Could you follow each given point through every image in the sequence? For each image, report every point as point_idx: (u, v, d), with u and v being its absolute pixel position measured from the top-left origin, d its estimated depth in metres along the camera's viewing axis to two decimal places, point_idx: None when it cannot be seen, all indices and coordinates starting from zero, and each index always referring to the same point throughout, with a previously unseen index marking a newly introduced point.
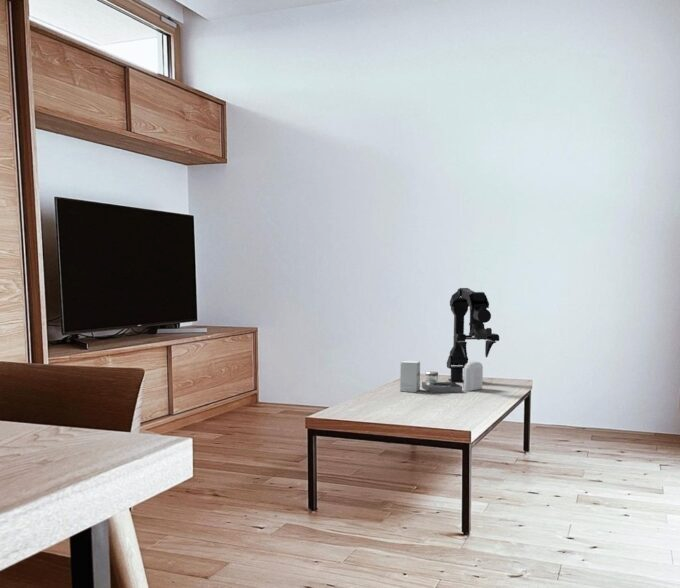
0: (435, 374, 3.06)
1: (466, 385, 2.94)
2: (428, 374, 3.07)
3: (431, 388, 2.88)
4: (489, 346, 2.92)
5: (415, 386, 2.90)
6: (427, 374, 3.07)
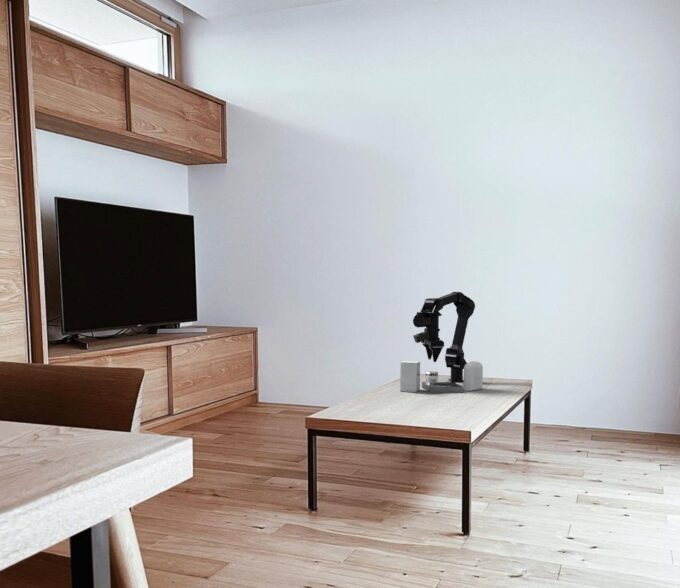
0: (435, 374, 3.06)
1: (466, 385, 2.94)
2: (428, 374, 3.07)
3: (431, 388, 2.88)
4: (432, 351, 3.03)
5: (415, 386, 2.90)
6: (427, 374, 3.07)
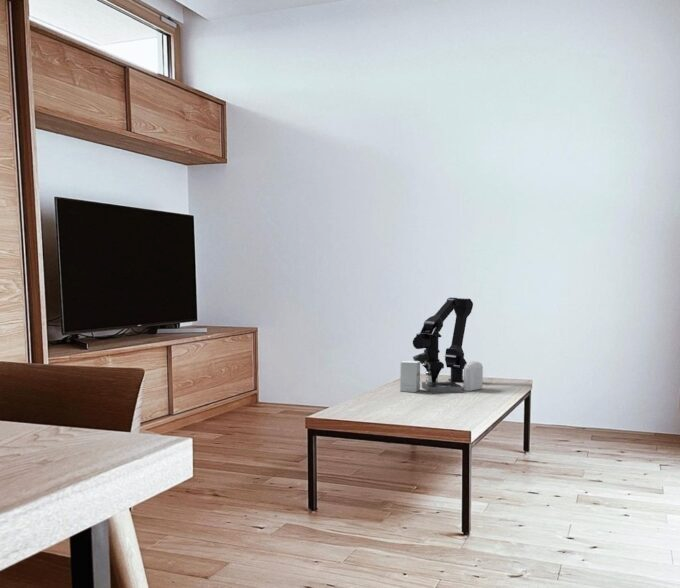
0: None
1: (466, 385, 2.94)
2: (428, 374, 3.07)
3: (431, 388, 2.88)
4: None
5: (415, 386, 2.90)
6: (427, 374, 3.07)
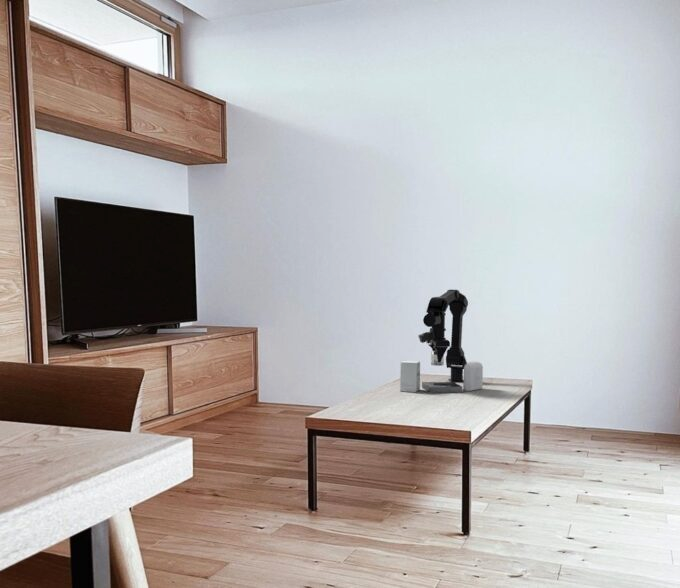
0: None
1: (466, 385, 2.94)
2: (434, 353, 2.98)
3: (431, 388, 2.88)
4: (436, 351, 2.96)
5: (415, 386, 2.90)
6: (433, 353, 2.98)
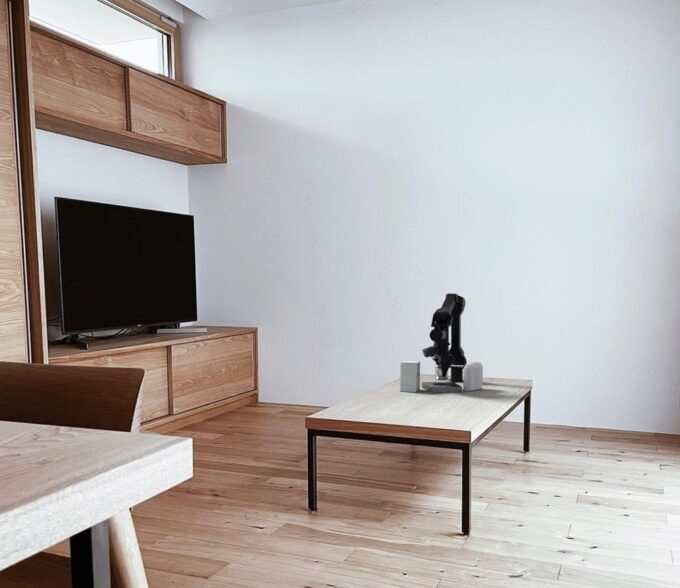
0: None
1: (466, 385, 2.94)
2: (438, 367, 2.94)
3: (431, 388, 2.88)
4: (441, 366, 2.92)
5: (415, 386, 2.90)
6: (437, 368, 2.94)
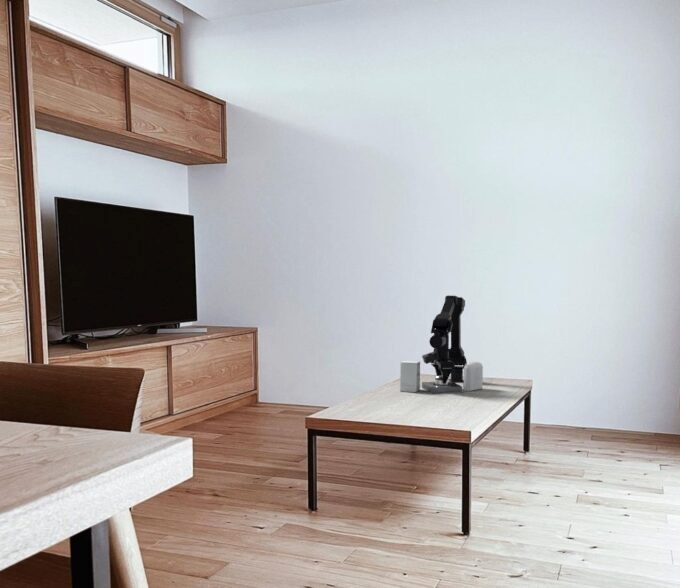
0: None
1: (466, 385, 2.94)
2: (438, 378, 2.94)
3: (431, 388, 2.88)
4: (441, 372, 2.91)
5: (415, 386, 2.90)
6: (437, 378, 2.94)
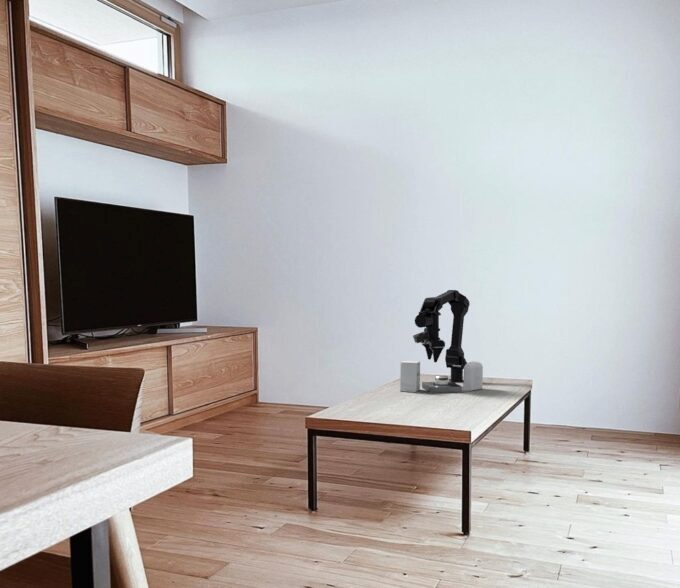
0: (445, 378, 2.94)
1: (466, 385, 2.94)
2: (438, 378, 2.94)
3: (431, 388, 2.88)
4: (432, 351, 2.98)
5: (415, 386, 2.90)
6: (437, 378, 2.94)
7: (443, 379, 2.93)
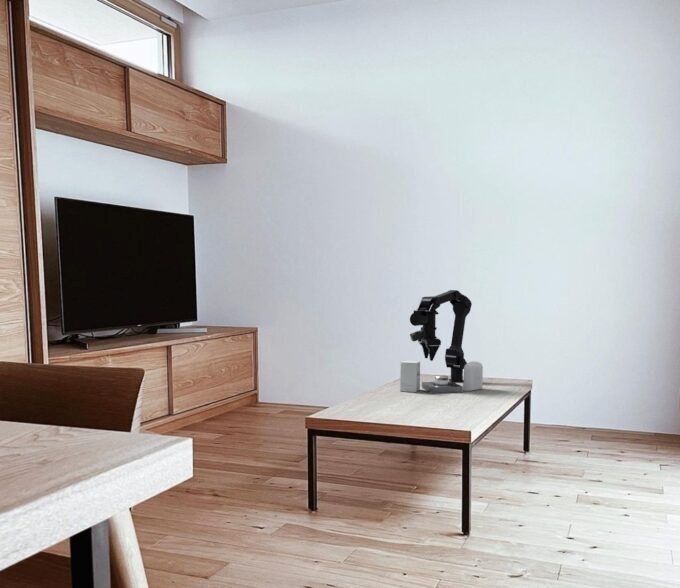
0: (445, 378, 2.94)
1: (466, 385, 2.94)
2: (438, 378, 2.94)
3: (431, 388, 2.88)
4: (428, 350, 3.01)
5: (415, 386, 2.90)
6: (437, 378, 2.94)
7: (443, 379, 2.93)
